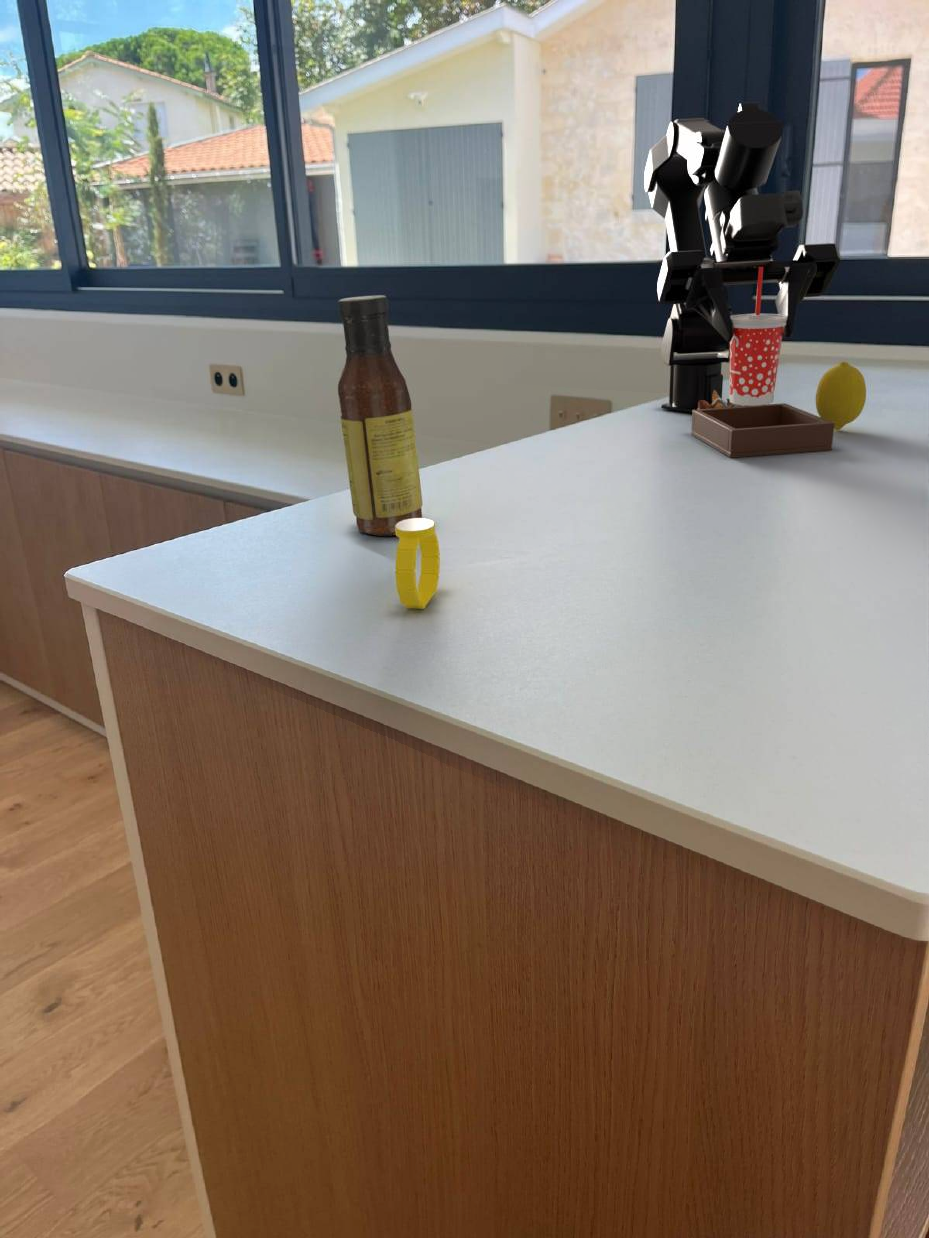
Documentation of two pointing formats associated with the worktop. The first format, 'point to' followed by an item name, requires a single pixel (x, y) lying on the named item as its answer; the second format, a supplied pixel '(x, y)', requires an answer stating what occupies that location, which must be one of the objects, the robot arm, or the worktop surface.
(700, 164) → the robot arm
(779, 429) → the tray
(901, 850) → the worktop surface
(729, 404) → the pastry
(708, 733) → the worktop surface
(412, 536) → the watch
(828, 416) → the lemon
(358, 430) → the sauce bottle
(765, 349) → the beverage cup
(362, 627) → the worktop surface
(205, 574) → the worktop surface
